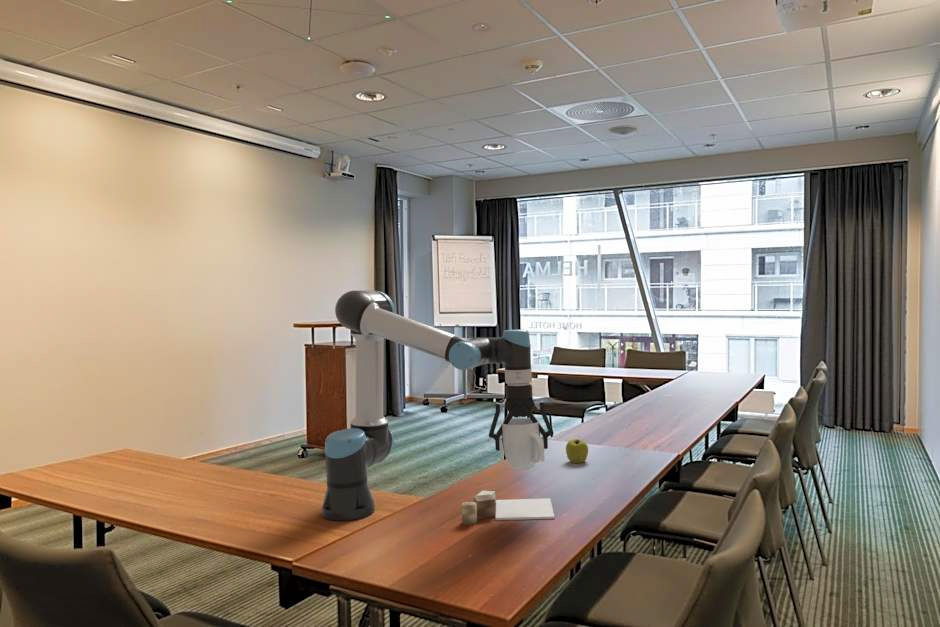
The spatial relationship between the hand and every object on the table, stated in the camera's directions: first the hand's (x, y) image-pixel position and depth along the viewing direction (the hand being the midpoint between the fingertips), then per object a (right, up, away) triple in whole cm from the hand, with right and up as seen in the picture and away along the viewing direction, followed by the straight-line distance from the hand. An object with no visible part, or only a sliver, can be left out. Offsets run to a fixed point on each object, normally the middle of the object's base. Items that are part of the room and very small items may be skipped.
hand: (522, 461), depth 183 cm
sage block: (-10, -15, +4) cm, 18 cm away
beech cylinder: (-15, -15, -8) cm, 22 cm away
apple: (+24, -12, +51) cm, 58 cm away
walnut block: (-11, -15, -3) cm, 18 cm away
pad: (+1, -14, 0) cm, 14 cm away
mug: (+1, -2, 0) cm, 2 cm away
